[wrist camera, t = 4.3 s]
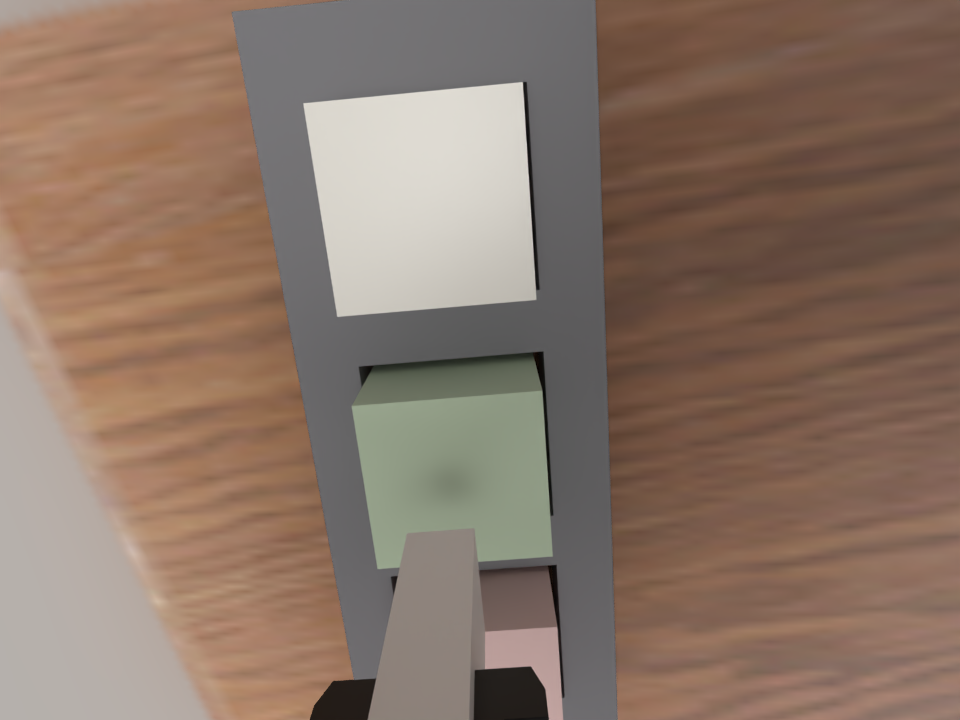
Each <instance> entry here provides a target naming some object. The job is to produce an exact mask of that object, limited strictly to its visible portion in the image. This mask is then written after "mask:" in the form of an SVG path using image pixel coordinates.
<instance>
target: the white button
mask: <svg viewBox="0 0 960 720" xmlns="http://www.w3.org/2000/svg"><path fill="white" fill-rule="evenodd" d="M303 105H304V111H305V118H306V124H307V130H308V136H309V143H310V149H311V155H312V161H313V168H314V174H315V180H316V187H317V193H318V199H319V205H320V212H321V218H322V224H323V230H324V237H325V243H326V249H327V256H328V262H329V268H330V274H331V281H332V287H333V293H334V299H335V306H336V312H337V317H342V316H354V315H366V314H377V313H389V312H401V311H412V310H424V309H436V308H448V307H459V306H471V305H483V304H494V303H506V302H518V301H530V300H536V284H535V269H534V253H533V237H532V221H531V205H530V189H529V174H528V158H527V142H526V126H525V110H524V95H523V82H518V83H508V84H497V85H487V86H477V87H466V88H456V89H446V90H435V91H425V92H415V93H404V94H394V95H384V96H374V97H363V98H353V99H343V100H332V101H322V102H312V103H303Z"/></svg>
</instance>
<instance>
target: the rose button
mask: <svg viewBox="0 0 960 720" xmlns="http://www.w3.org/2000/svg"><path fill="white" fill-rule="evenodd" d="M479 577H480V586H481V596H482V606H483V615H484V625H485V669H497V668H512V667H527V666H531V667H532V669H533V670H534V672H535V673H536V675H537V677H538V678H539V680H540V681H541V683H542V684H543V686H544V687H545V690H546V698H547V707H548V716H549V720H563V709H562V693H561V677H560V661H559V645H558V629H557V622H556V615H555V609H554V602H553V596H552V590H551V583H550V577H549V570H548V565H546V566H532V567H518V568H504V569H490V570H479Z"/></svg>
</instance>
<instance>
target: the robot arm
mask: <svg viewBox="0 0 960 720" xmlns="http://www.w3.org/2000/svg"><path fill="white" fill-rule="evenodd" d="M310 720H549V716H548V707H547V698H546V690H545V687H544V686H543V684H542V683H541V681H540V680H539V678H538V677H537V675H536V673H535V672H534V670H533V669H532V667H531V666H527V667H512V668H497V669H485V625H484V615H483V606H482V596H481V586H480V577H479V567H478V558H477V548H476V538H475V529H474V528H471V529H457V530H444V531H430V532H417V533H407V535H406V540H405V545H404V550H403V554H402V559H401V564H400V569H399V573H398V578H397V583H396V588H395V592H394V597H393V602H392V607H391V611H390V616H389V621H388V626H387V630H386V635H385V640H384V645H383V649H382V654H381V659H380V664H379V668H378V673H377V678H374V679H359V680H344V681H333V682H332V683H331V685H330V686H329V687H328V689H327V690H326V691H325V692H324V694H323V695H322V696H321V698H320V699H319V700H318V702H317V703H316V704H315V705H314V708H313V711H312V714H311V717H310Z"/></svg>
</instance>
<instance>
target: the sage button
mask: <svg viewBox="0 0 960 720" xmlns="http://www.w3.org/2000/svg"><path fill="white" fill-rule="evenodd" d="M352 412H353V418H354V424H355V431H356V437H357V443H358V449H359V456H360V462H361V468H362V475H363V481H364V487H365V493H366V500H367V506H368V512H369V518H370V525H371V531H372V537H373V544H374V550H375V556H376V562H377V569H386V568H400V564H401V559H402V554H403V550H404V545H405V540H406V535H407V533H417V532H430V531H444V530H457V529H471V528H474V529H475V538H476V548H477V558H478V562H483V561H497V560H511V559H525V558H539V557H553V552H552V536H551V520H550V504H549V488H548V473H547V457H546V441H545V425H544V409H543V393H542V387H541V384H540V380H539V376H538V372H537V368H536V364H535V360H534V356H533V352H529V353H517V354H505V355H493V356H481V357H469V358H457V359H444V360H432V361H420V362H408V363H396V364H384V365H374V366H373V368H372V370H371V372H370V374H369V375H368V377H367V379H366V381H365V383H364V385H363V386H362V388H361V390H360V392H359V394H358V395H357V397H356V399H355V401H354V403H353V404H352Z"/></svg>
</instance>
